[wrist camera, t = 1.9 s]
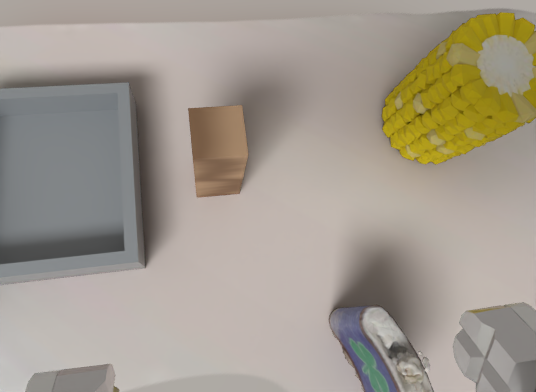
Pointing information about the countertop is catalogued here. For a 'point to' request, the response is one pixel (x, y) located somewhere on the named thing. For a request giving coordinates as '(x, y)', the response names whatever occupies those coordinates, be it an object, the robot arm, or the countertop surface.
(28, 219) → the bin
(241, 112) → the block
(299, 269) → the countertop surface
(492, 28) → the food
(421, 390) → the flask
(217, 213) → the countertop surface
